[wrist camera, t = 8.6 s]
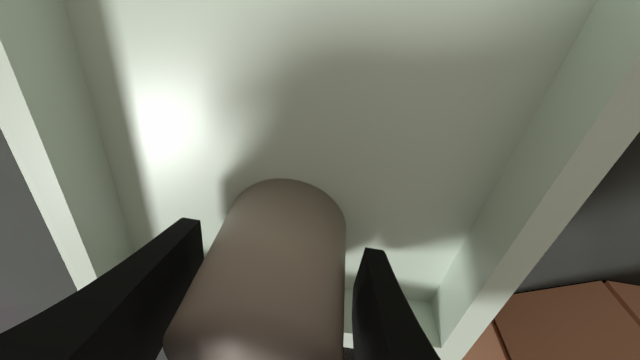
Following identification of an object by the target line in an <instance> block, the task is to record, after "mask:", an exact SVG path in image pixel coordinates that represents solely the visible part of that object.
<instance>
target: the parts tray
mask: <svg viewBox="0 0 640 360" xmlns="http://www.w3.org/2000/svg"><path fill="white" fill-rule="evenodd" d="M0 128H1V130H2V132H3V134H4V136H5V138H6V140H7V142H8V145H9V147H10V149H11V151H12V153H13V155H14V157H15V159H16V161H17V164H18V166H19V168H20V170H21V172H22V174H23V176H24V178H25V180H26V182H27V185H28V187H29V189H30V191H31V193H32V195H33V197H34V199H35V201H36V204H37V206H38V208H39V210H40V212H41V214H42V216H43V218H44V220H45V222H46V225H47V227H48V229H49V231H50V233H51V235H52V237H53V239H54V241H55V244H56V246H57V248H58V250H59V252H60V254H61V256H62V258H63V260H64V262H65V265H66V267H67V269H68V271H69V273H70V275H71V277H72V279H73V281H74V283H75V286H76V288H77V290H80V289H82V288H83V287H85V286H86V285H88V284H89V283H91V282H92V281H94V280H95V279H97V278H98V277H100V276H101V275H103V274H104V273H106V272H107V271H109V270H110V269H112V268H113V267H115V266H116V265H118V264H119V263H121V262H122V261H124V260H125V259H126V258H128V257H129V256H130V255H132V254H133V253H135V252H136V251H137V250H139V249H140V248H142V247H143V246H144V245H146V244H147V243H148V242H150V241H151V240H152V239H154V238H155V237H156V236H158V235H159V234H160V233H162V232H163V231H164V230H166V229H167V228H168V227H170V226H171V225H172V224H174V223H175V222H176V221H178V220H179V219H181V218H182V217H184V218H190V219H196V220H200V222H201V232H202V241H203V251H204V258H205V257H206V255H207V253H208V251H209V249H210V247H211V245H212V243H213V241H214V240H215V238H216V236H217V234H218V232H219V230H220V228H221V226H222V224H223V223H224V221H225V219H226V217H227V215H228V213H229V211H230V209H231V207H232V206H233V204H234V202H235V200H236V199H237V197H238V196H239V195H240V194H241V193H242V191H244V190H245V189H246V188H248V187H249V186H251V185H253V184H255V183H258V182H260V181H264V180H268V179H276V178H285V179H294V180H298V181H302V182H305V183H308V184H311V185H313V186H315V187H317V188H319V189H320V190H322V191H324V192H325V193H326V194H328V195H329V196H330V197H331V198H332V199H333V200H334V201H335V202H336V203H337V205H338V206H339V207H340V209H341V211H342V213H343V216H344V218H345V223H346V252H345V297H344V341H343V347H347V348H353V332H352V298H353V285H354V282H355V279H356V275H357V272H358V269H359V266H360V263H361V259H362V256H363V253H364V250H365V247H367V248H373V249H379V250H384V252H385V253H386V255H387V258H388V260H389V263H390V265H391V267H392V270H393V272H394V274H395V276H396V279H397V281H398V283H399V285H400V287H401V289H402V291H403V293H404V295H405V297H406V299H407V301H408V303H409V305H410V307H411V309H412V311H413V313H414V315H415V317H416V318H417V320H418V322H419V324H420V326H421V327H422V329H423V331H424V333H425V334H426V336H427V338H428V339H429V341H430V343H431V345H432V346H433V348H434V349H435V351H436V353H437V354H438V356H439V358H440V359H441V360H462V358H463V357H464V356H465V355H466V353H467V352H468V351H469V349H470V348H471V347H472V346H473V344H474V343H475V342H476V341H477V339H478V338H479V337H480V335H481V334H482V333H483V332H484V330H485V329H486V328H487V326H488V325H489V324H490V323H491V321H492V320H493V319H494V317H495V316H496V315H497V314H498V312H499V311H500V310H501V308H502V307H503V306H504V305H505V303H506V302H507V301H508V300H509V298H510V297H511V296H512V294H513V293H514V292H515V291H516V289H517V288H518V287H519V285H520V284H521V283H522V282H523V280H524V279H525V278H526V276H527V275H528V274H529V273H530V271H531V270H532V269H533V267H534V266H535V265H536V264H537V262H538V261H539V260H540V259H541V257H542V256H543V255H544V253H545V252H546V251H547V250H548V248H549V247H550V246H551V244H552V243H553V242H554V241H555V239H556V238H557V237H558V235H559V234H560V233H561V232H562V230H563V229H564V228H565V227H566V225H567V224H568V223H569V221H570V220H571V219H572V218H573V216H574V215H575V214H576V212H577V211H578V210H579V209H580V207H581V206H582V205H583V203H584V202H585V201H586V200H587V198H588V197H589V196H590V194H591V193H592V192H593V191H594V189H595V188H596V187H597V186H598V184H599V183H600V182H601V180H602V179H603V178H604V177H605V175H606V174H607V173H608V171H609V170H610V169H611V168H612V166H613V165H614V164H615V162H616V161H617V160H618V159H619V157H620V156H621V155H622V153H623V152H624V151H625V150H626V148H627V147H628V146H629V145H630V143H631V142H632V141H633V139H634V138H635V137H636V136H637V134H638V133H639V132H640V0H0Z"/></svg>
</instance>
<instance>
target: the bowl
mask: <svg viewBox="0 0 640 360" xmlns="http://www.w3.org/2000/svg"><path fill="white" fill-rule="evenodd" d="M462 360H640V286H637V285H631V284H625V283H619V282H613V281H606V282H605V283H603V282H602V281H595V282H589V283H583V284H576V285H570V286H563V287H557V288H550V289H544V290H537V291H531V292H525V293H518V294H512V296H511V297H510V298H509V300H508V301H507V302H506V303H505V305H504V306H503V307H502V308H501V310H500V311H499V312H498V314H497V315H496V316H495V317H494V319H493V320H492V321H491V323H490V324H489V325H488V326H487V328H486V329H485V330H484V332H483V333H482V334H481V335H480V337H479V338H478V339H477V341H476V342H475V343H474V344H473V346H472V347H471V348H470V349H469V351H468V352H467V353H466V355H465V356H464V357H463V358H462Z"/></svg>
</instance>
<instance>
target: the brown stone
mask: <svg viewBox="0 0 640 360" xmlns="http://www.w3.org/2000/svg"><path fill="white" fill-rule="evenodd" d="M345 252H346V223H345V218H344V216H343V213H342V211H341V209H340V207H339V206H338V205H337V203H336V202H335V201H334V200H333V199H332V198H331V197H330V196H329V195H328V194H326V193H325V192H324V191H322V190H320V189H319V188H317V187H315V186H313V185H311V184H308V183H305V182H302V181H298V180H294V179H285V178H276V179H268V180H264V181H260V182H258V183H255V184H253V185H251V186H249V187H248V188H246V189H245V190H244V191H242V193H241V194H240V195H239V196H238V197H237V199H236V200H235V202H234V204H233V206H232V207H231V209H230V211H229V213H228V215H227V217H226V219H225V221H224V223H223V224H222V226H221V228H220V230H219V232H218V234H217V236H216V238H215V240H214V241H213V243H212V245H211V247H210V249H209V251H208V253H207V255H206V257H205V258H204V260H203V262H202V264H201V266H200V268H199V270H198V272H197V274H196V275H195V277H194V279H193V281H192V283H191V285H190V287H189V289H188V291H187V292H186V294H185V296H184V298H183V300H182V302H181V304H180V306H179V308H178V309H177V311H176V313H175V315H174V317H173V319H172V321H171V323H170V325H169V326H168V328H167V330H166V332H165V335H164V337H163V349H164V352H165V355H166V357H167V359H168V360H343V341H344V297H345Z"/></svg>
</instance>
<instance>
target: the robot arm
mask: <svg viewBox="0 0 640 360" xmlns="http://www.w3.org/2000/svg"><path fill="white" fill-rule="evenodd" d="M203 260H204V251H203V241H202V232H201V222H200V220H196V219H190V218H184V217H182V218H181V219H179V220H178V221H176V222H175V223H174V224H172V225H171V226H170V227H168V228H167V229H166V230H164V231H163V232H162V233H160V234H159V235H158V236H156V237H155V238H154V239H152V240H151V241H150V242H148V243H147V244H146V245H144V246H143V247H142V248H140V249H139V250H137V251H136V252H135V253H133V254H132V255H130V256H129V257H128V258H126V259H125V260H124V261H122V262H121V263H119V264H118V265H116V266H115V267H113V268H112V269H110V270H109V271H107V272H106V273H104V274H103V275H101V276H100V277H98V278H97V279H95V280H94V281H92V282H91V283H89V284H88V285H86V286H85V287H83V288H82V289H80V290H78V291H77V292H75V293H74V294H72V295H70V296H69V297H67V298H65V299H64V300H62V301H60V302H58V303H57V304H55V305H53V306H52V307H50V308H48V309H46V310H45V311H43V312H41V313H39V314H37V315H36V316H34V317H32V318H30V319H28V320H26V321H24V322H22V323H20V324H18V325H17V326H15V327H13V328H11V329H9V330H7V331H5V332H3V333H1V334H0V360H156V358H157V356H158V354H159V352H160V350H161V348H162V347H163V337H164V335H165V332H166V330H167V328H168V326H169V325H170V323H171V321H172V319H173V317H174V315H175V313H176V311H177V309H178V308H179V306H180V304H181V302H182V300H183V298H184V296H185V294H186V292H187V291H188V289H189V287H190V285H191V283H192V281H193V279H194V277H195V275H196V274H197V272H198V270H199V268H200V266H201V264H202V262H203ZM352 332H353V350H354V360H441V359H440V358H439V356H438V354H437V353H436V351H435V349H434V348H433V346H432V345H431V343H430V341H429V339H428V338H427V336H426V334H425V333H424V331H423V329H422V327H421V326H420V324H419V322H418V320H417V318H416V317H415V315H414V313H413V311H412V309H411V307H410V305H409V303H408V301H407V299H406V297H405V295H404V293H403V291H402V289H401V287H400V285H399V283H398V281H397V279H396V276H395V274H394V272H393V270H392V267H391V265H390V263H389V260H388V258H387V255H386V253H385V252H384V250H379V249H373V248H367V247H365V250H364V253H363V256H362V259H361V263H360V266H359V269H358V272H357V275H356V279H355V282H354V285H353V298H352Z"/></svg>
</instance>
